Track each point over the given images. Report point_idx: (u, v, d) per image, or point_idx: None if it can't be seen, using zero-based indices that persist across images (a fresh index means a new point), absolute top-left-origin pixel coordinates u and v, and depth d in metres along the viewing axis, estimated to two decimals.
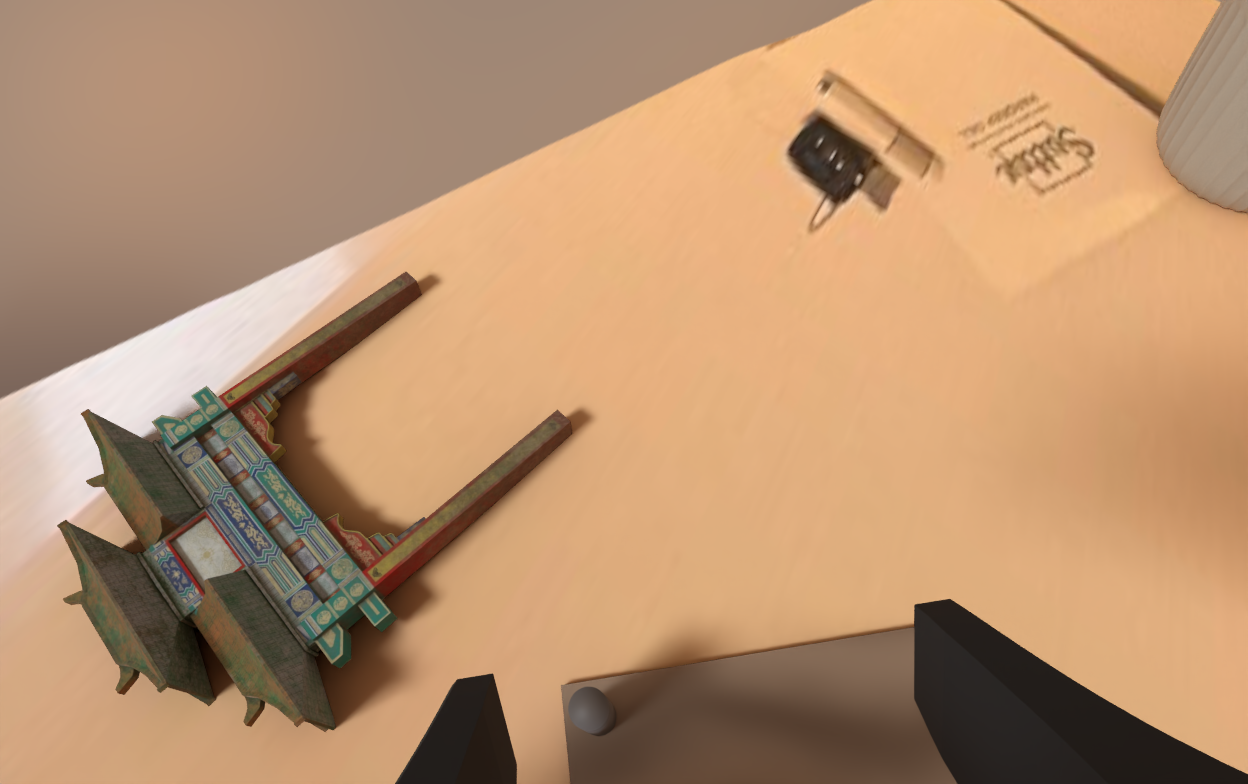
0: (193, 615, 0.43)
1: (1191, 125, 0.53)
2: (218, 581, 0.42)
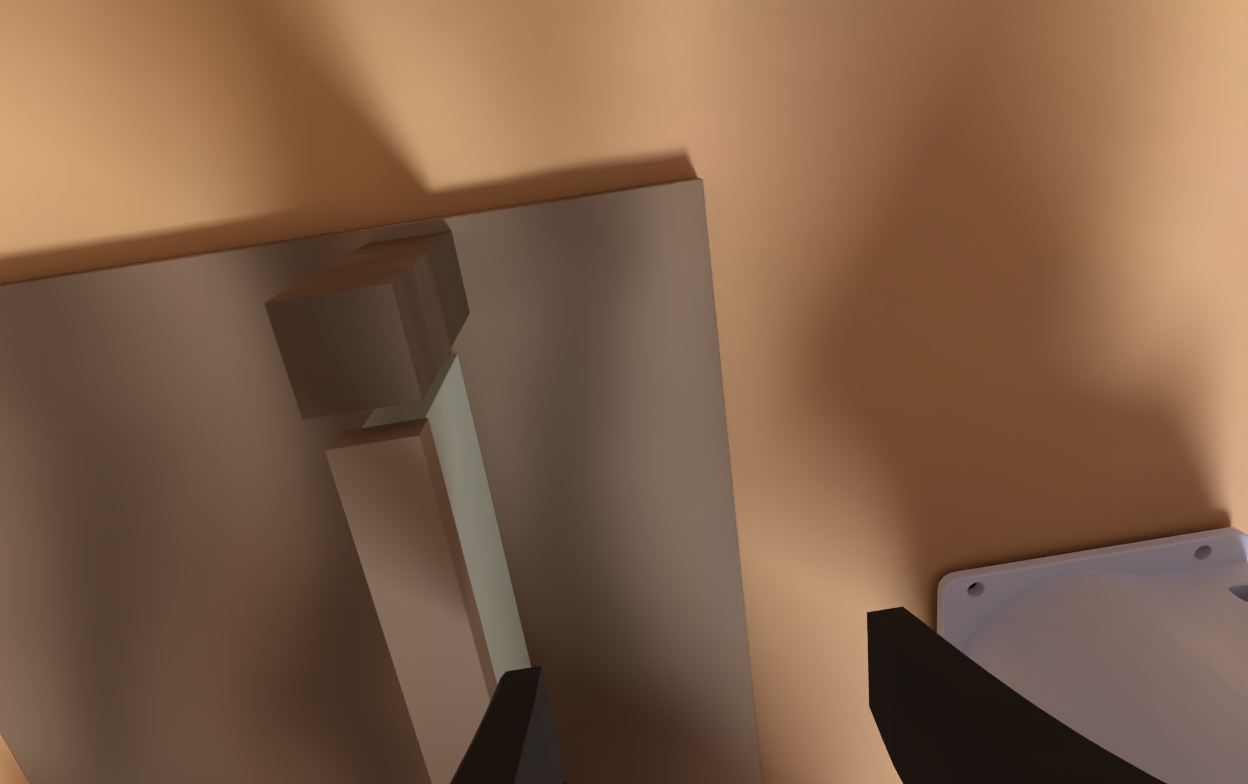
0: None
1: None
2: None
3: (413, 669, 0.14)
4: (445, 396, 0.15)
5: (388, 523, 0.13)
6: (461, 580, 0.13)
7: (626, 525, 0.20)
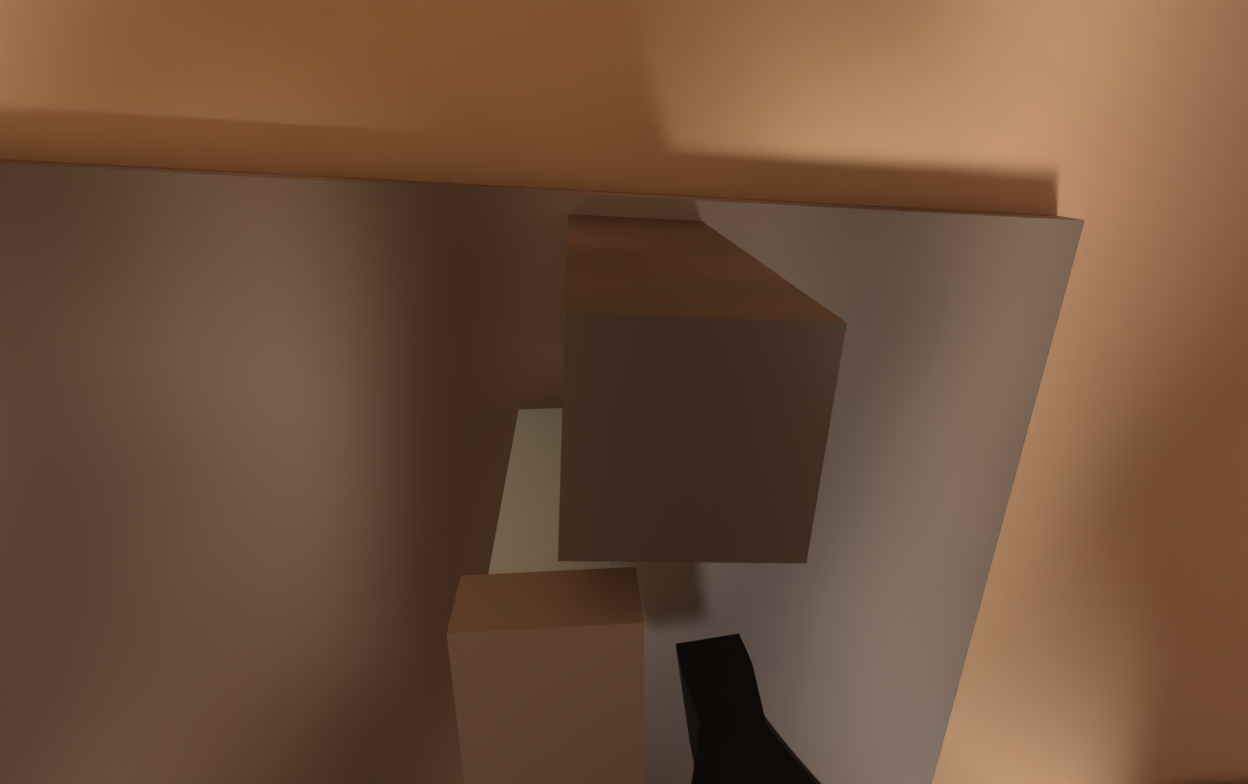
0: None
1: None
2: None
3: None
4: None
5: (540, 772, 0.06)
6: None
7: (810, 679, 0.14)
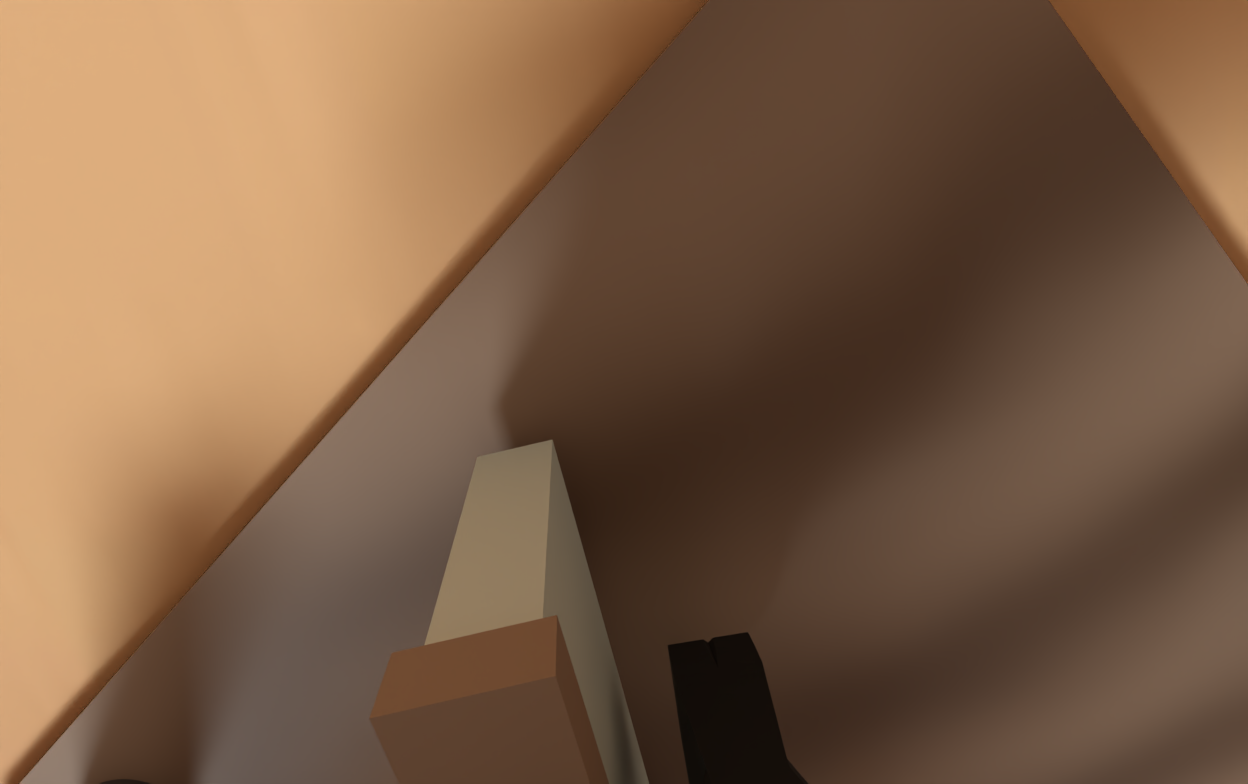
0: None
1: None
2: None
3: None
4: (554, 527, 0.09)
5: None
6: None
7: None
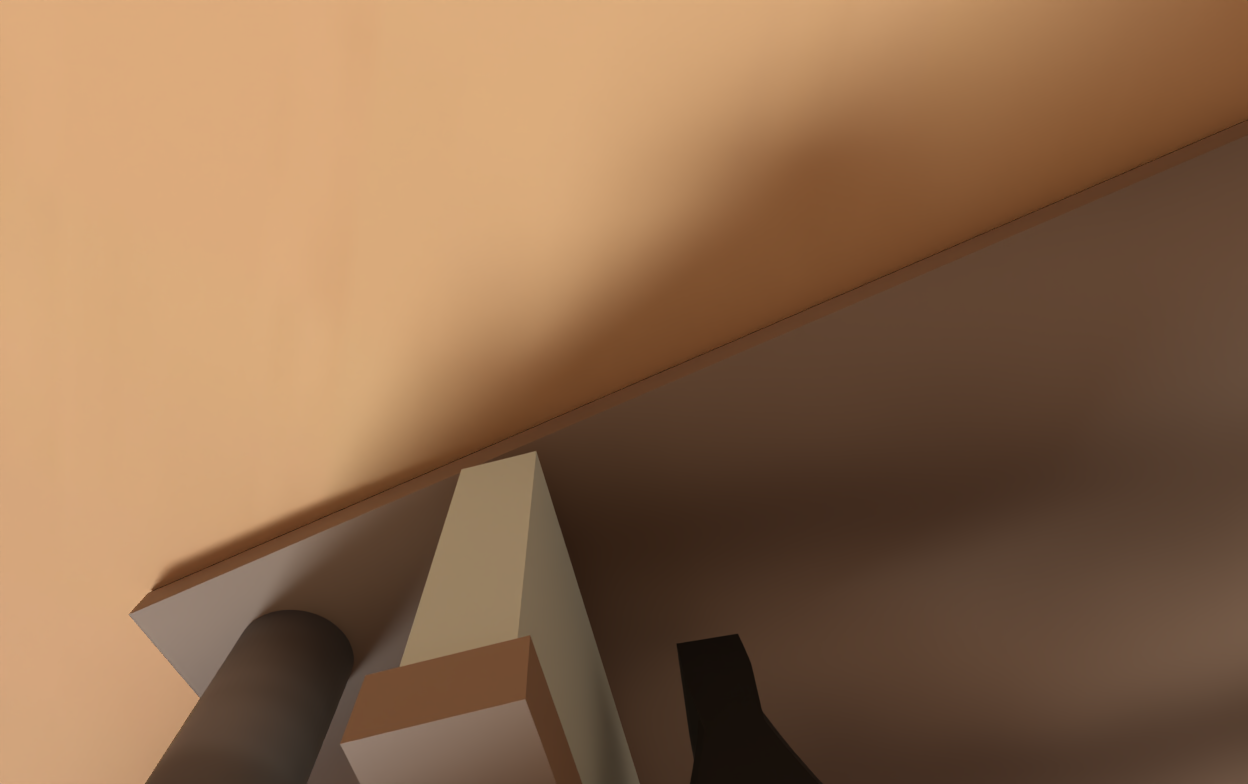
0: None
1: None
2: None
3: None
4: (535, 541, 0.09)
5: None
6: None
7: None
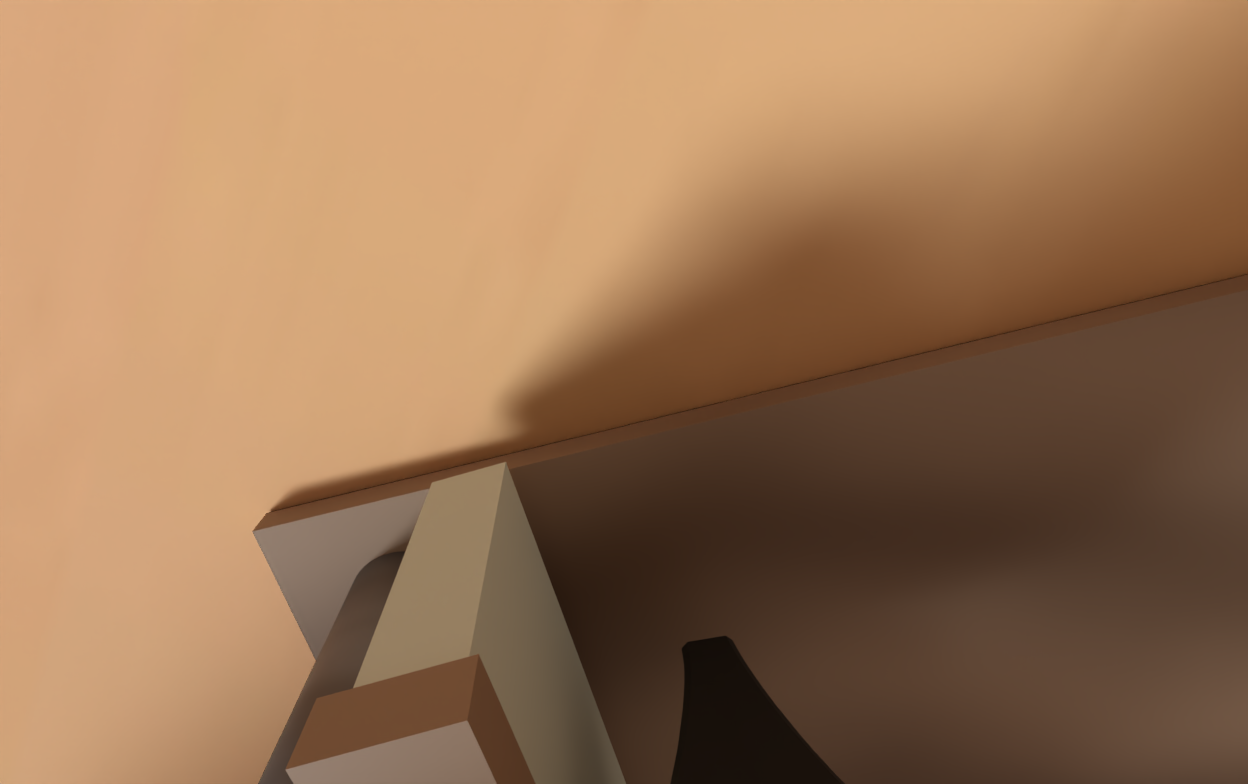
0: None
1: None
2: None
3: None
4: (499, 555, 0.09)
5: None
6: None
7: None
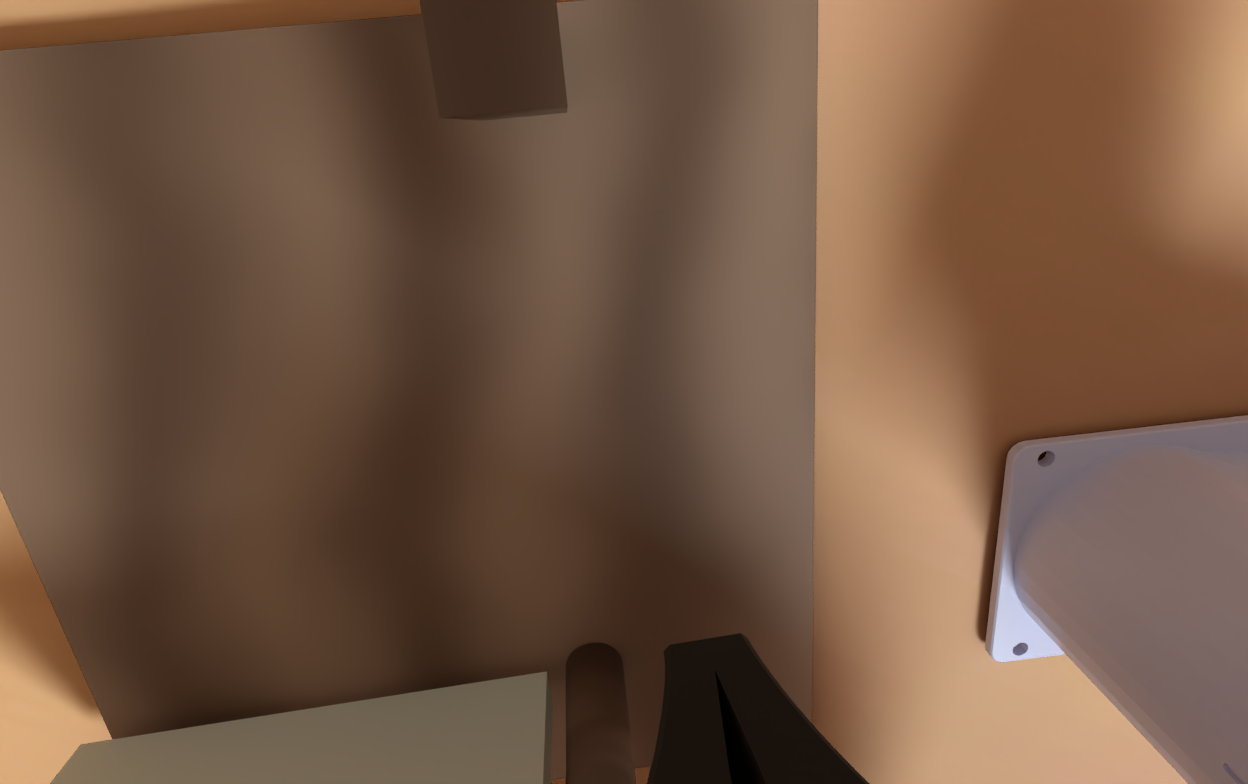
0: None
1: None
2: None
3: None
4: None
5: None
6: None
7: (703, 364, 0.19)
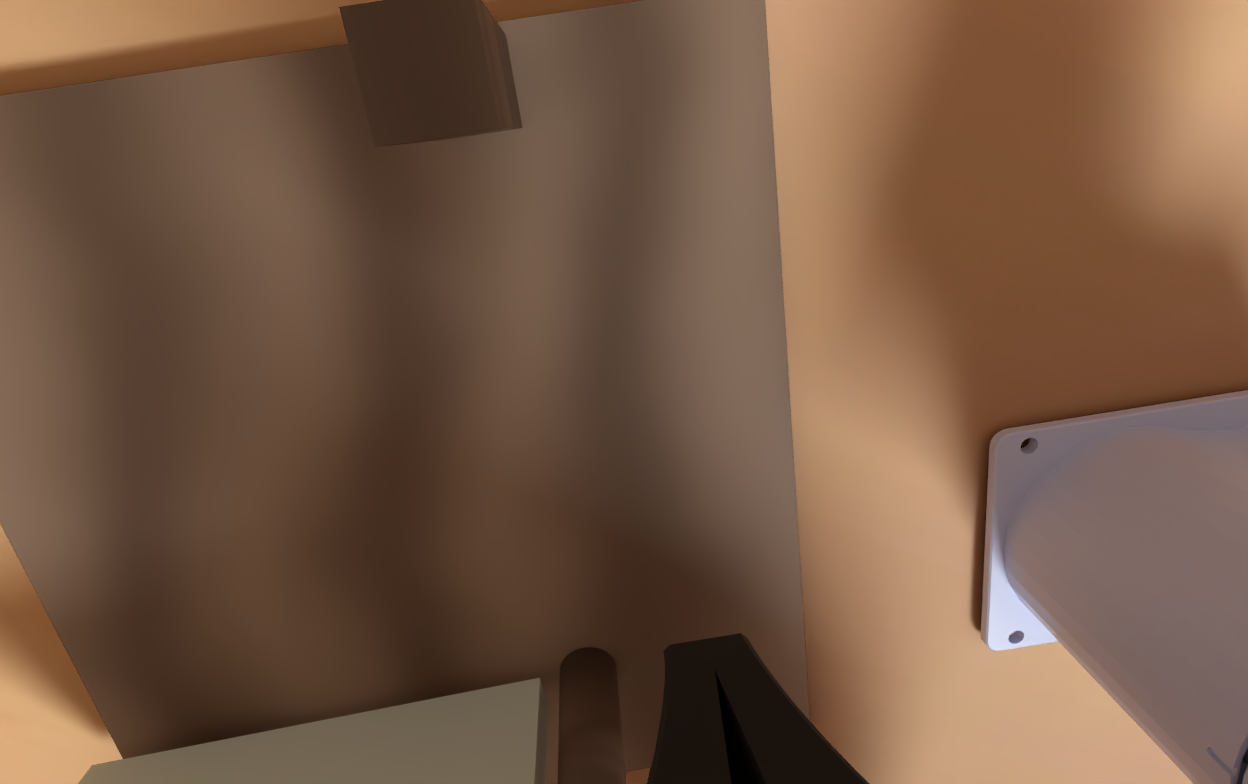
0: None
1: None
2: None
3: None
4: None
5: None
6: None
7: (676, 368, 0.19)
